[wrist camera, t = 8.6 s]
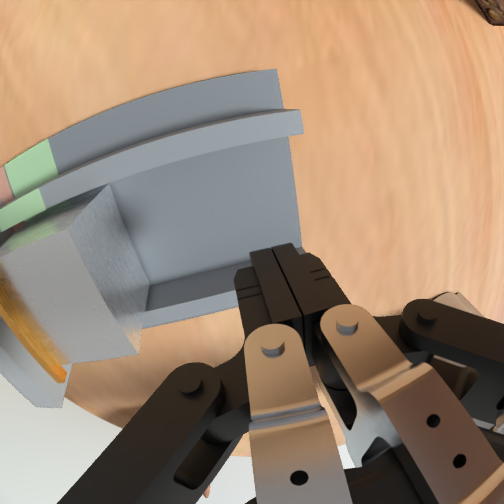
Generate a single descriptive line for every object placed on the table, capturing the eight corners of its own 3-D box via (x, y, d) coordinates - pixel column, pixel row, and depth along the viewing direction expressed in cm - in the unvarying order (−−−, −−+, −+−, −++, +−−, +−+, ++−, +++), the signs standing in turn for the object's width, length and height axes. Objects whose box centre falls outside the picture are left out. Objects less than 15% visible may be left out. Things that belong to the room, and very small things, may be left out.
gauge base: (270, 71, 13) (334, 46, 7) (300, 279, 21) (343, 356, 14) (-20, 184, 12) (-87, 232, 5) (59, 335, 20) (36, 406, 13)
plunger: (105, 171, 13) (50, 220, 7) (153, 291, 18) (143, 374, 12) (29, 205, 13) (-32, 261, 7) (82, 308, 17) (57, 383, 11)
